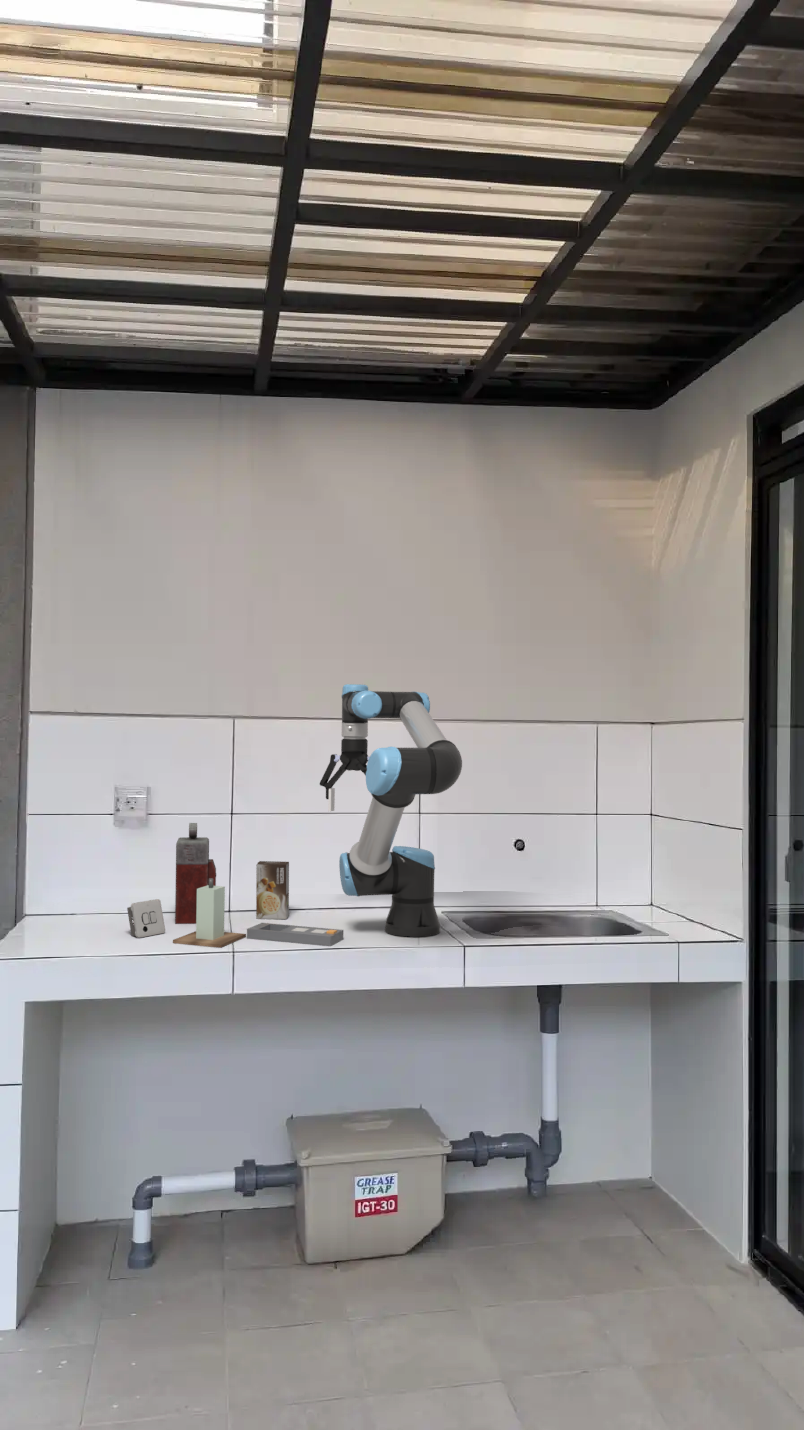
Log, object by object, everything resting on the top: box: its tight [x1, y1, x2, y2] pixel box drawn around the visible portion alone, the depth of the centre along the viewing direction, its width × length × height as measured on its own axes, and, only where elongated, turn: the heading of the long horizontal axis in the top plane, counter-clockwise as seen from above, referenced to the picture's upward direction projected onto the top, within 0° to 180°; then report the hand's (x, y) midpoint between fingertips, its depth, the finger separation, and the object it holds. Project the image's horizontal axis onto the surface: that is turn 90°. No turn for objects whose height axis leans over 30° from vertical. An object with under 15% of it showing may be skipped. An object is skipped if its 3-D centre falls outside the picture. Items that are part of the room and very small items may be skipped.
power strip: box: [246, 922, 344, 947], centre depth 291 cm, size 24×9×3 cm, turn 71°
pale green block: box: [195, 878, 226, 940], centre depth 288 cm, size 5×6×15 cm
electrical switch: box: [126, 898, 166, 939], centre depth 293 cm, size 9×5×9 cm, turn 141°
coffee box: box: [255, 860, 290, 920], centre depth 319 cm, size 9×6×16 cm
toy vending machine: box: [174, 822, 217, 925], centre depth 312 cm, size 9×11×28 cm
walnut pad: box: [172, 930, 247, 949], centre depth 288 cm, size 14×14×1 cm
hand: (353, 812), depth 313 cm, fingers open, 13 cm apart
